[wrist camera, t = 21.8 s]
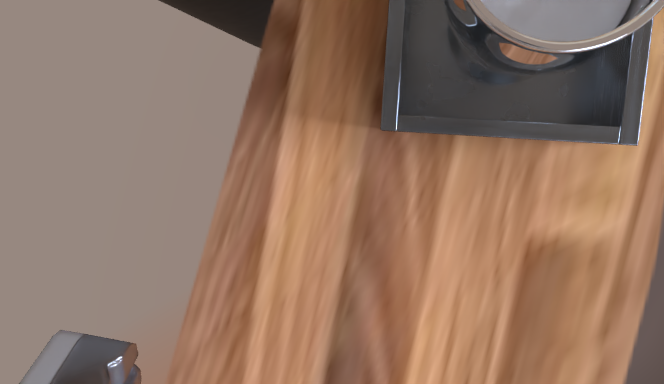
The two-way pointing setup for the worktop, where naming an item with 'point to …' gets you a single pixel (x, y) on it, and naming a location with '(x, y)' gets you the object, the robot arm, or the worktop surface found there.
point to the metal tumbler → (537, 34)
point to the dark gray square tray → (507, 88)
